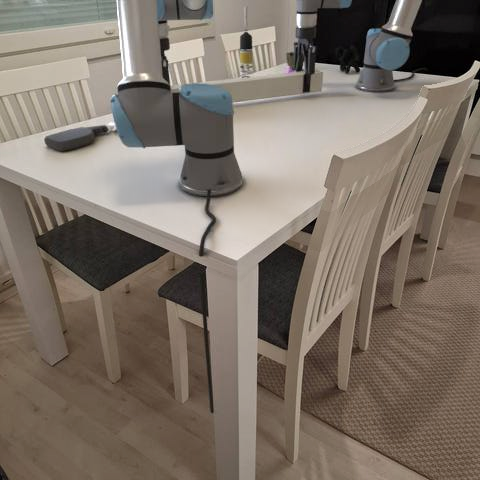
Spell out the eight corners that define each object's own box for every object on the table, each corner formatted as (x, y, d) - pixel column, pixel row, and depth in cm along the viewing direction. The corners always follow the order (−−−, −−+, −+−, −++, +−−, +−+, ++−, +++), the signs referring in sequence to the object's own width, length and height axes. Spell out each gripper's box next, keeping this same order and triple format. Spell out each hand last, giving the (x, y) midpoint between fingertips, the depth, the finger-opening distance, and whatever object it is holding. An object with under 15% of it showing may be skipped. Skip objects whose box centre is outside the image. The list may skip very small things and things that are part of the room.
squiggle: (349, 83, 219) (328, 64, 222) (365, 68, 218) (343, 49, 221) (351, 72, 208) (328, 52, 210) (368, 57, 207) (344, 36, 210)
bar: (146, 113, 156) (144, 92, 152) (143, 109, 161) (140, 88, 157) (321, 91, 179) (323, 72, 175) (314, 88, 183) (316, 69, 179)
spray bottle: (43, 145, 135) (109, 126, 151) (63, 153, 129) (130, 132, 145) (40, 136, 134) (108, 117, 150) (60, 143, 128) (129, 123, 144)
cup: (283, 70, 221) (283, 53, 217) (288, 68, 227) (289, 51, 222) (297, 72, 218) (298, 54, 214) (302, 69, 224) (303, 52, 219)
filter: (254, 81, 203) (254, 7, 187) (243, 82, 201) (242, 7, 185) (249, 78, 208) (249, 6, 192) (238, 79, 206) (237, 6, 190)
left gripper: (175, 40, 142) (182, 112, 154) (161, 33, 157) (168, 100, 169) (152, 41, 140) (160, 115, 152) (140, 34, 154) (149, 102, 166)
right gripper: (327, 28, 160) (322, 94, 172) (302, 23, 174) (299, 84, 186) (309, 29, 157) (305, 96, 170) (285, 24, 172) (283, 86, 184)
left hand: (164, 107), depth 160 cm, fingers closed on bar, 5 cm apart
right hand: (302, 90), depth 178 cm, fingers closed on bar, 5 cm apart
